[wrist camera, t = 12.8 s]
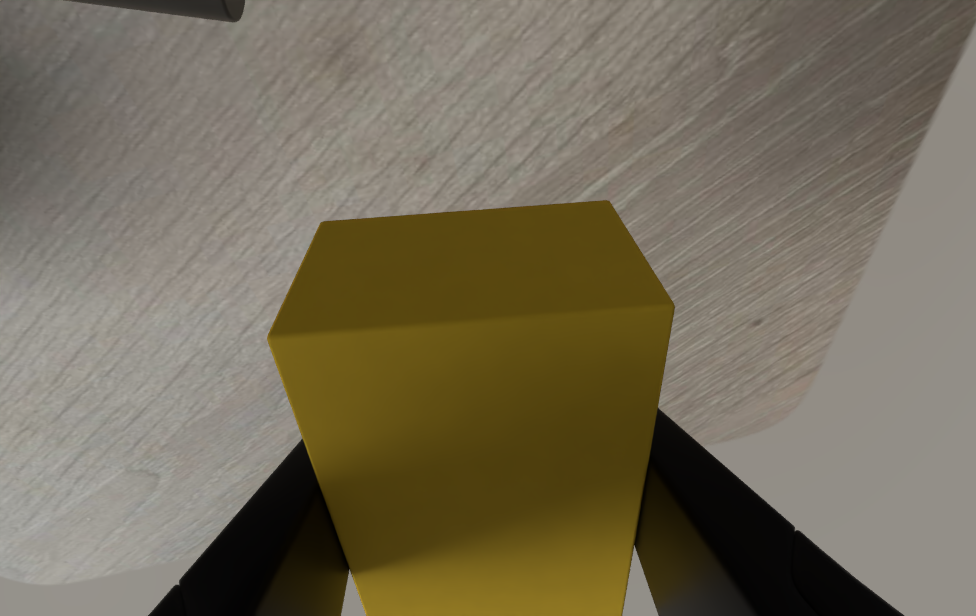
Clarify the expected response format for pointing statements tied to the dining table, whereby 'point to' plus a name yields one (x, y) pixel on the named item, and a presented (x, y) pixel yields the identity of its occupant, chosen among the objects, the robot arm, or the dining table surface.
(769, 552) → the robot arm
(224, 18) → the drawer
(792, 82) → the dining table surface
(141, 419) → the dining table surface
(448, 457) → the block
